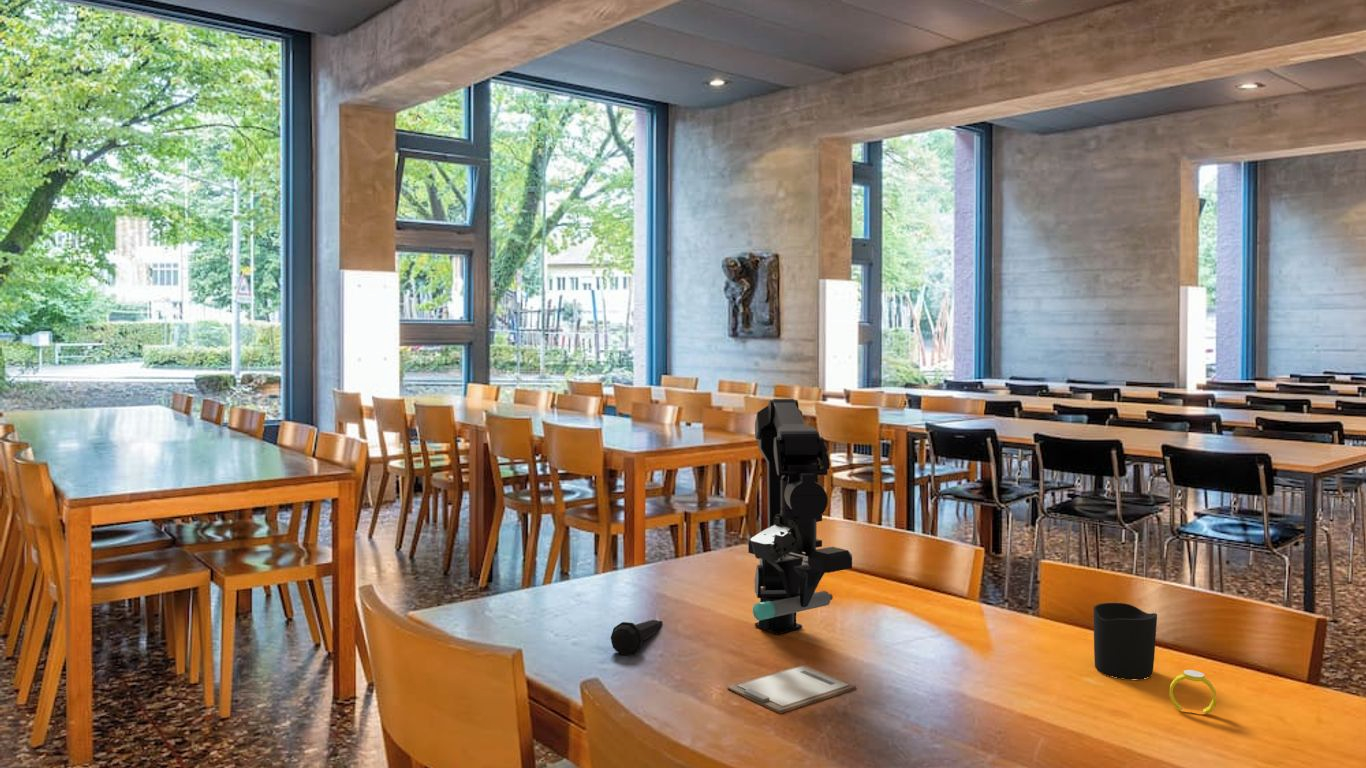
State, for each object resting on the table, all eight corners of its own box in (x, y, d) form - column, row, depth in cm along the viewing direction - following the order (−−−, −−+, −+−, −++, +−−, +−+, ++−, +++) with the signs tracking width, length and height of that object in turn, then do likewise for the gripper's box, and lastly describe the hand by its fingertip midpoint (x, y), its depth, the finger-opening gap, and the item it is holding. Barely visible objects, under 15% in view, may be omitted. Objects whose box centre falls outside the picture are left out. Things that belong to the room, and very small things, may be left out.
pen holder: (1151, 665, 165) (1153, 605, 164) (1158, 684, 156) (1160, 622, 155) (1090, 659, 168) (1091, 600, 167) (1093, 678, 159) (1095, 616, 158)
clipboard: (802, 667, 164) (802, 661, 164) (856, 688, 155) (856, 682, 155) (727, 689, 155) (727, 683, 155) (779, 713, 145) (779, 707, 145)
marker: (824, 602, 165) (825, 586, 165) (836, 605, 163) (836, 590, 163) (752, 618, 156) (752, 601, 156) (763, 622, 154) (763, 605, 154)
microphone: (652, 640, 188) (610, 662, 169) (644, 610, 189) (601, 628, 170) (678, 634, 186) (639, 655, 168) (670, 603, 187) (630, 621, 168)
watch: (1213, 714, 145) (1218, 674, 144) (1214, 721, 143) (1219, 681, 142) (1167, 704, 148) (1172, 665, 147) (1167, 711, 145) (1172, 671, 145)
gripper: (722, 505, 162) (722, 600, 163) (801, 522, 147) (801, 627, 148) (774, 499, 168) (774, 590, 169) (854, 514, 153) (854, 614, 154)
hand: (798, 605), depth 160 cm, fingers closed on marker, 2 cm apart
